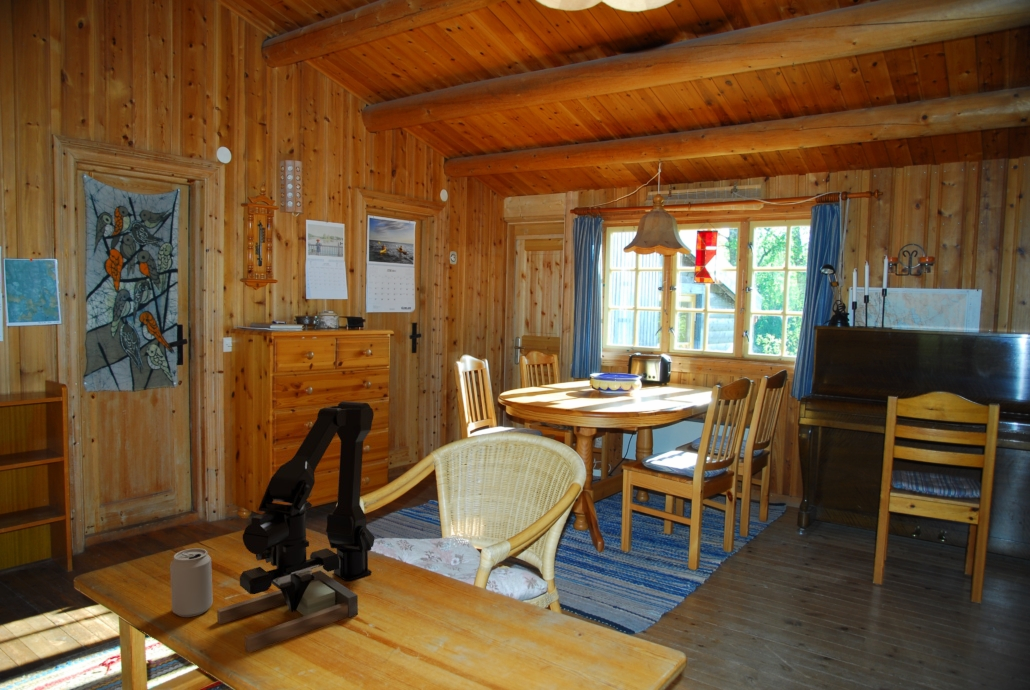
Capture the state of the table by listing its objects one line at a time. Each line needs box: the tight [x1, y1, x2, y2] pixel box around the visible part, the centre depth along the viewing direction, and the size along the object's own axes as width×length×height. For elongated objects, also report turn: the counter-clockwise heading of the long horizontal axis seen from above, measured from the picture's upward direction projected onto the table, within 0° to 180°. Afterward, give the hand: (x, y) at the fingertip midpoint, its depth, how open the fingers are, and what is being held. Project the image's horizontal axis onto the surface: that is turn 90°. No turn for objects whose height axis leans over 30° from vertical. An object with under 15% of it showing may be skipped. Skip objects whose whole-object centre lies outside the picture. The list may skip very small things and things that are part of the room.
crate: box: [296, 581, 336, 616], centre depth 142 cm, size 6×7×4 cm
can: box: [169, 547, 214, 618], centre depth 140 cm, size 8×8×12 cm
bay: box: [216, 570, 359, 654], centre depth 137 cm, size 22×16×4 cm
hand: (292, 611), depth 138 cm, fingers closed
